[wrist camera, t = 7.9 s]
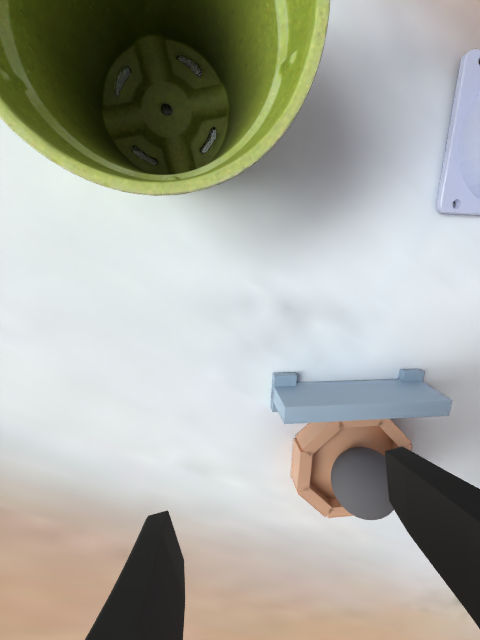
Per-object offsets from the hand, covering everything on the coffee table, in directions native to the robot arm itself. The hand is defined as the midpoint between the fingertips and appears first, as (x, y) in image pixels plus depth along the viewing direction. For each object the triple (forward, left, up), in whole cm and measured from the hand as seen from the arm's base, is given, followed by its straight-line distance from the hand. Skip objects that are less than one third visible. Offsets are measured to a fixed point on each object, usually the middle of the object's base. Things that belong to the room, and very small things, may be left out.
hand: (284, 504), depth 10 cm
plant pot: (+4, -14, -10) cm, 18 cm away
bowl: (-8, +6, -10) cm, 14 cm away
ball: (-8, +6, -9) cm, 13 cm away
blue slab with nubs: (-7, +1, -10) cm, 12 cm away
